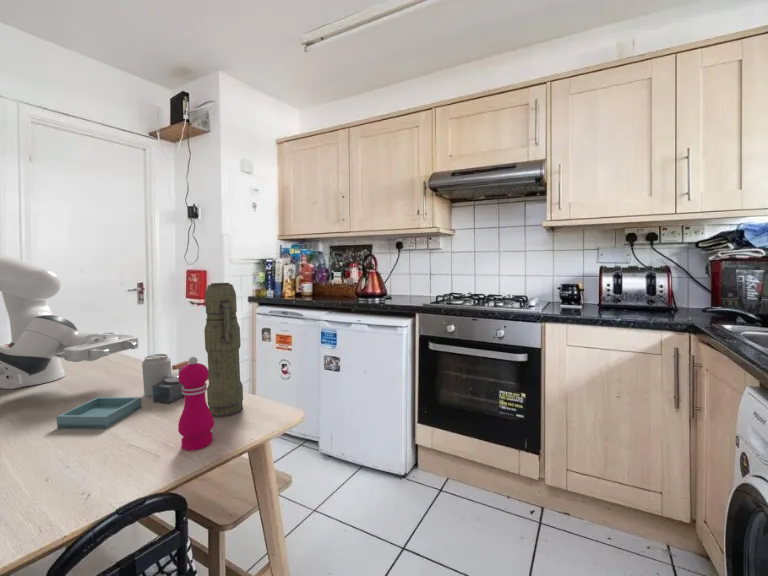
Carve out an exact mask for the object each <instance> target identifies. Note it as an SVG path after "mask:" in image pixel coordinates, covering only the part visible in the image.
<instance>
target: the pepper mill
mask: <svg viewBox="0 0 768 576" xmlns="http://www.w3.org/2000/svg"><path fill="white" fill-rule="evenodd" d="M188 361H189V364H188V365H186V366H184V367H183V368H182V369H181V370H180V372H179V371H178V373H179V377H178V378H179V382H180V383H181V384H182V385H183V387H182V394H183V395H184V397H185V398H184V405H183V409H182V412H181V414H180V417H179V420H178V424H177V425H178V426H177V428H178V429H177V432H178V434H179V435H180V436H182V438H181V441H180V442H181V448H182V449H183V450H184V451H190V452H193V451H198V450H202V449H204V448H207V447H208V446H210V445H211V444H212V443H213V441H214V440H213V439H214V437H213V432H212V430H213V428H214V426H215V420H214V418H215V417H213V415H212V413H211V411H210V410H209V406H208V402H207V400H206V392H207V388H208V384H207V380H209V372H208V366H206V365H205V364H202V363H200V362H198V358H197V357H196V356H191V357H190V358H188Z"/></svg>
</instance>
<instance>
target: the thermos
mask: <svg viewBox="0 0 768 576" xmlns="http://www.w3.org/2000/svg"><path fill="white" fill-rule="evenodd" d="M236 293H237V292H236V290H235V288H234V285H233V284H230V282H213V283H212V282H211V283H210V284H208V285H207V287H206V291H205V293H204V294H205V295H204V300H205V314H206V323H205V327H204V329H203V330H204V331H203V332H204V348H205V349H204V350H205V351H206V354H207V369H208V372H209V377H208V384H207V390H206V392H207V393H206V395H207V406H208V408H209V410H210V411H211V413H212V415H213V418H227V417H232V416H235V415H237V414H239V413H241V412H242V411H243V409H244V407H243V406H244V405H243V401H244V391H243V389H244V387H243V384H242V382H241V371H240V370H241V366H240V365H241V364H240V348H241V327H240V324H239V322H238V316H237V312H238V309H237V294H236Z"/></svg>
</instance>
